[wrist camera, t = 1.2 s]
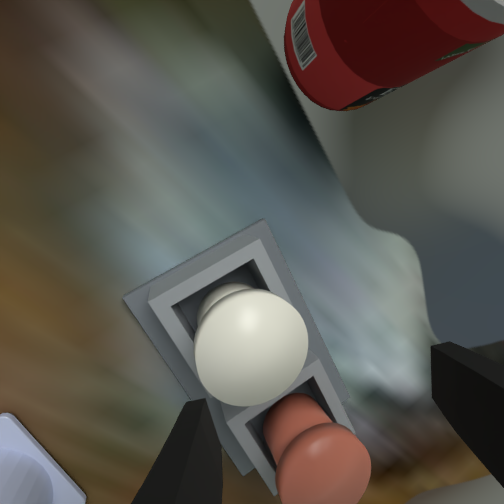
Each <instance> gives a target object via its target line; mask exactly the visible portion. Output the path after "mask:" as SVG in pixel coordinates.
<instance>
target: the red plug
mask: <svg viewBox="0 0 504 504" xmlns="http://www.w3.org/2000/svg"><path fill="white" fill-rule="evenodd" d="M263 434H264V437H265V440H266V442H267V444H268V446H269V449H270V451H271V453H272V455H273V458H274V460H275V462H276V465H277V469H276V475H275V483H276V488H277V491H278V494H279V496H280V499H281V501H282V504H357V503H358V501H359V500H360V498H361V497H362V495H363V494H364V492H365V490H366V487H367V485H368V482H369V479H370V474H371V460H370V456H369V454H368V451H367V450H366V448H365V447H364V445H363V444H362V443H361V442H360V441H359V440H358V438H357V437H356V436H355V435H354V434H353V433H352V431H351V430H350V429H348V428H347V427H346V426H344V425H341V424H339V423H333V422H332V421H331V420H330V418H329V417H328V416H327V415H326V413H325V412H324V411H323V409H322V408H321V407H320V406H319V404H318V403H317V402H316V401H315V400H314V398H312V397H311V396H309V395H308V394H305V393H292V394H288V395H286V396H284V397H282V398H281V399H279V400H278V401H276V402H275V403H274V404H273V405H272V406H271V408H270V409H269V411H268V412H267V414H266V416H265V419H264V423H263Z"/></svg>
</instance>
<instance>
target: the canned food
mask: <svg viewBox="0 0 504 504" xmlns="http://www.w3.org/2000/svg"><path fill="white" fill-rule="evenodd" d="M503 34H504V0H293V2H292V4H291V7H290V10H289V13H288V16H287V21H286V27H285V35H284V50H285V56H286V61H287V64H288V67H289V70H290V73H291V75H292V77H293V79H294V81H295V82H296V84H297V86H298V87H299V88H300V90H301V91H302V92H303V93H304V95H306V96H307V97H308V98H309V99H310V100H311V101H312V102H314V103H316V104H317V105H319V106H321V107H323V108H326V109H329V110H336V111H348V110H355V109H358V108H360V107H362V106H365V105H367V104H369V103H371V102H373V101H375V100H377V99H379V98H381V97H383V96H385V95H387V94H388V93H390V92H392V91H394V90H396V89H398V88H400V87H402V86H404V85H406V84H408V83H410V82H412V81H414V80H415V79H417V78H419V77H421V76H423V75H425V74H427V73H429V72H431V71H433V70H435V69H437V68H439V67H441V66H443V65H445V64H447V63H449V62H451V61H453V60H455V59H457V58H458V57H460V56H462V55H464V54H466V53H468V52H470V51H472V50H474V49H476V48H478V47H480V46H482V45H484V44H486V43H488V42H490V41H491V40H493V39H495V38H497V37H499V36H501V35H503Z"/></svg>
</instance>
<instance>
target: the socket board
mask: <svg viewBox="0 0 504 504" xmlns="http://www.w3.org/2000/svg"><path fill="white" fill-rule="evenodd" d="M227 282H242V283H246V284H248V285H250V286H252V287H253V288H254V289H263V290H267V291H270V292H272V293H275V294H277V295H278V296H280V297H281V298H282V299H284V300H285V301H286V302H288V303H289V304H290V305H292V306H293V307H294V308H295V309H296V310H297V311H298V313H299V314H300V315H301V317H302V319H303V321H304V323H305V326H306V329H307V333H308V352H307V356H306V360H305V363H304V365H303V368H302V370H301V372H300V373H299V375H298V376H297V378H296V379H295V381H294V382H293V383H292V384H291V385H290V386H289V387H288V388H287V389H286V390H285V391H284V392H283V393H281V394H280V395H278V396H277V397H275V398H274V399H272V400H270V401H267V402H265V403H262V404H259V405H254V406H234V405H230V404H227V403H224V402H222V401H220V400H218V399H217V398H215V397H214V396H212V395H211V394H210V393H209V392H208V391H207V389H206V388H205V387H204V386H203V384H202V382H201V380H200V378H199V375H198V372H197V367H196V362H195V357H194V347H193V346H194V337H195V333H196V330H197V327H198V325H197V312H198V308H199V305H200V303H201V301H202V300H203V298H204V297H205V295H206V294H207V293H208V292H209V291H211V290H212V289H213V288H215V287H216V286H218V285H220V284H223V283H227ZM123 299H124V301H125V302H126V304H127V305H128V307H129V308H130V310H131V311H132V313H133V314H134V316H135V317H136V319H137V320H138V322H139V323H140V325H141V326H142V327H143V329H144V330H145V332H146V333H147V335H148V336H149V338H150V339H151V341H152V342H153V344H154V345H155V347H156V348H157V350H158V351H159V353H160V354H161V356H162V357H163V359H164V360H165V362H166V363H167V365H168V366H169V368H170V369H171V370H172V372H173V373H174V375H175V376H176V378H177V379H178V381H179V382H180V384H181V385H182V387H183V388H184V390H185V391H186V393H187V394H188V396H189V397H190V399H191V400H192V401H194V400H198V399H202V398H206V401H207V404H208V407H209V410H210V413H211V416H212V419H213V422H214V425H215V428H216V432H217V435H218V438H219V441H220V443H221V445H222V446H223V448H224V449H225V451H226V452H227V453H228V455H229V456H230V458H231V459H232V461H233V462H234V464H235V465H236V467H237V468H238V470H239V471H240V473H241V474H242V476H245V475H246V474H247V473H249V472H250V471H251V470H253V469H254V468H256V469H257V471H258V472H259V474H260V475H261V477H262V478H263V480H264V481H265V483H266V485H267V486H268V488H269V489H270V491H271V492H272V494H273V495H274V496H275V495H277V494H278V491H277V488H276V483H275V475H276V469H277V465H276V462H275V460H274V458H273V455H272V453H271V451H270V449H269V446H268V444H267V442H266V440H265V437H264V434H263V423H264V419H265V416H266V414H267V412H268V411H269V409H270V408H271V406H272V405H273V404H274V403H275V402H276V401H278V400H279V399H281V398H282V397H284V396H286V395H288V394H292V393H305V394H308V395H309V396H311V397H312V398H314V400H315V401H316V402H317V403H318V404H319V406H320V407H321V408H322V409H323V411H324V412H325V413H326V415H327V416H328V417H329V418H330V420H331V421H332V422H333V423H339V424H341V425H344V426H346V427H347V428H348V429H350V430H351V431H352V433H353V434H355V431H354V429H353V427H352V425H351V423H350V420H349V418H348V416H347V414H346V412H345V410H344V408H343V406H342V403H343V402H344V401H346V400H347V399H348V398H350V395H349V393H348V391H347V389H346V387H345V385H344V383H343V381H342V379H341V377H340V375H339V372H338V370H337V368H336V366H335V364H334V362H333V360H332V358H331V356H330V354H329V352H328V349H327V347H326V345H325V343H324V341H323V339H322V337H321V335H320V333H319V331H318V329H317V326H316V324H315V322H314V320H313V318H312V316H311V314H310V312H309V310H308V308H307V306H306V303H305V301H304V299H303V297H302V295H301V293H300V291H299V289H298V287H297V285H296V283H295V280H294V278H293V276H292V274H291V272H290V270H289V268H288V266H287V264H286V262H285V260H284V258H283V255H282V253H281V251H280V249H279V247H278V245H277V243H276V241H275V239H274V237H273V235H272V232H271V230H270V228H269V226H268V224H267V222H266V220H265V219H260V220H259V221H257V222H255V223H253V224H251V225H250V226H248V227H246V228H244V229H242V230H241V231H239V232H237V233H235V234H233V235H232V236H230V237H228V238H226V239H224V240H223V241H221V242H219V243H217V244H215V245H213V246H212V247H210V248H208V249H206V250H204V251H203V252H201V253H199V254H197V255H195V256H194V257H192V258H190V259H188V260H186V261H185V262H183V263H181V264H179V265H177V266H175V267H174V268H172V269H170V270H168V271H166V272H165V273H163V274H161V275H159V276H157V277H156V278H154V279H152V280H150V281H148V282H147V283H145V284H143V285H141V286H139V287H138V288H136V289H134V290H132V291H130V292H128V293H127V294H125V295H124V296H123Z"/></svg>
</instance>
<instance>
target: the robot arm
mask: <svg viewBox="0 0 504 504" xmlns="http://www.w3.org/2000/svg"><path fill="white" fill-rule="evenodd" d="M431 379H432V398H433V400H434V401H435V403H436V404H437V406H438V407H439V409H440V410H441V412H442V413H443V415H444V416H445V417H446V419H447V420H448V422H449V423H450V424H451V426H452V427H453V429H454V430H455V431H456V433H457V434H458V435H459V436H460V437H461V439H462V440H463V441H464V442H465V443H466V445H467V446H468V447H469V448H470V449H471V450H472V452H473V453H474V454H475V455H476V456H477V457H478V459H479V460H480V461H481V462H482V463H483V464H484V466H485V467H486V468H487V469H488V470H489V471H490V473H491V474H492V475H493V476H494V477H495V478H496V480H497V481H498V482H499V483H500V484H501V485H502V487H503V488H504V365H502V364H500V363H498V362H496V361H493V360H491V359H489V358H487V357H484V356H482V355H480V354H478V353H475V352H473V351H471V350H469V349H466V348H464V347H462V346H459V345H457V344H454V343H452V342H446V343H441V344H437V345H433V346H431ZM222 488H223V479H222V451H221V444H220V441H219V438H218V435H217V432H216V428H215V425H214V422H213V419H212V416H211V413H210V410H209V407H208V404H207V401H206V398H202V399H198V400H194V401H189V402H186V403H185V405H184V407H183V409H182V411H181V413H180V415H179V417H178V419H177V421H176V423H175V425H174V427H173V429H172V431H171V433H170V435H169V436H168V438H167V440H166V442H165V444H164V446H163V448H162V450H161V452H160V454H159V455H158V457H157V459H156V461H155V463H154V465H153V466H152V468H151V470H150V472H149V474H148V476H147V477H146V479H145V481H144V483H143V484H142V486H141V488H140V489H139V491H138V493H137V495H136V496H135V498H134V500H133V501H132V503H131V504H222ZM85 502H86V495H85V493H84V492H83V491H82V490H81V489H80V488H79V487H78V486H77V485H76V484H75V482H74V481H73V480H72V479H71V478H70V477H69V476H68V475H67V474H66V473H65V471H64V470H63V469H62V468H61V467H60V466H59V465H58V464H57V463H56V462H55V460H54V459H53V458H52V457H51V456H50V455H49V454H48V453H47V452H46V451H45V449H44V448H43V447H42V446H41V445H40V444H39V443H38V442H37V441H36V440H35V438H34V437H33V436H32V435H31V434H30V433H29V432H28V431H27V430H26V429H25V427H24V426H23V425H22V424H21V423H20V422H19V421H18V420H17V419H16V418H15V416H14V415H12V414H10V413H2V414H0V504H85Z"/></svg>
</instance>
